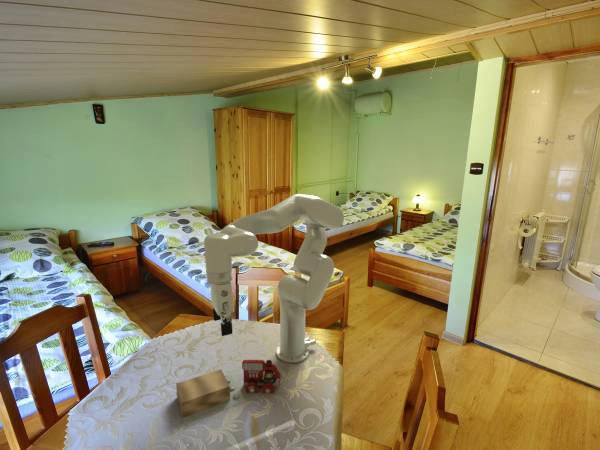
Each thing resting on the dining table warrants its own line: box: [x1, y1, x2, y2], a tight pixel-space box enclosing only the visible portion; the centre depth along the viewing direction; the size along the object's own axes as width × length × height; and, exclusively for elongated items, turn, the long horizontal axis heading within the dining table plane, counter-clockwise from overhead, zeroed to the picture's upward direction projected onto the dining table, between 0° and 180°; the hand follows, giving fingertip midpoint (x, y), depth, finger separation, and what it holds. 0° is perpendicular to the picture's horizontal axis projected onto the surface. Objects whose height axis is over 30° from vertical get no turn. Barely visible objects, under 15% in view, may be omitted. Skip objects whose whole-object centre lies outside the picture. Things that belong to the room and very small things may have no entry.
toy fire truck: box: [241, 359, 282, 394], centre depth 105 cm, size 7×12×10 cm, turn 89°
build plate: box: [175, 374, 246, 425], centre depth 100 cm, size 18×14×2 cm
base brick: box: [175, 369, 230, 419], centre depth 99 cm, size 14×9×5 cm, turn 120°
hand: (222, 326), depth 100 cm, fingers open, 9 cm apart
